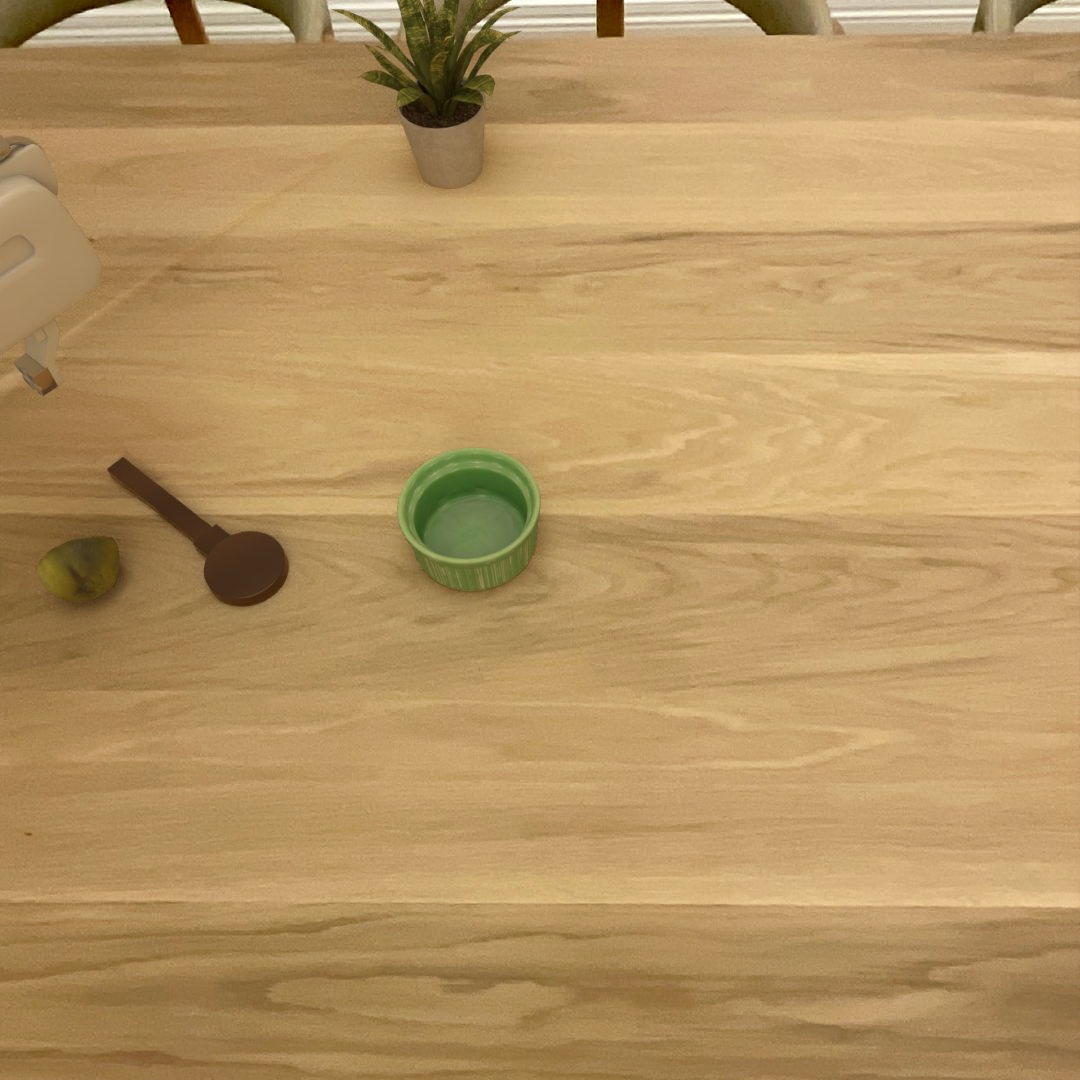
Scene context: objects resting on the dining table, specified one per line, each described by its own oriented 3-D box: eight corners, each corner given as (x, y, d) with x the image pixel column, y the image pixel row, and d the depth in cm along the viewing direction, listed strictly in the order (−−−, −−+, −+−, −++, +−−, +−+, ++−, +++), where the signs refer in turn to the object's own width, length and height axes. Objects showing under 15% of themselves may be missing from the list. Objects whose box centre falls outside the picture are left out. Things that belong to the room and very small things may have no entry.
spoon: (88, 493, 79) (82, 484, 79) (148, 446, 82) (143, 437, 81) (244, 621, 74) (240, 612, 73) (305, 567, 76) (301, 558, 75)
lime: (45, 603, 75) (10, 560, 71) (91, 545, 77) (60, 500, 73) (102, 626, 74) (69, 584, 70) (147, 568, 76) (118, 523, 72)
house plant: (585, 152, 97) (578, -43, 83) (487, 250, 91) (461, 58, 77) (449, 96, 101) (421, -97, 88) (347, 186, 96) (299, -6, 82)
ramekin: (437, 621, 73) (427, 584, 70) (388, 517, 78) (376, 477, 74) (567, 568, 75) (563, 529, 71) (511, 469, 79) (505, 427, 76)
